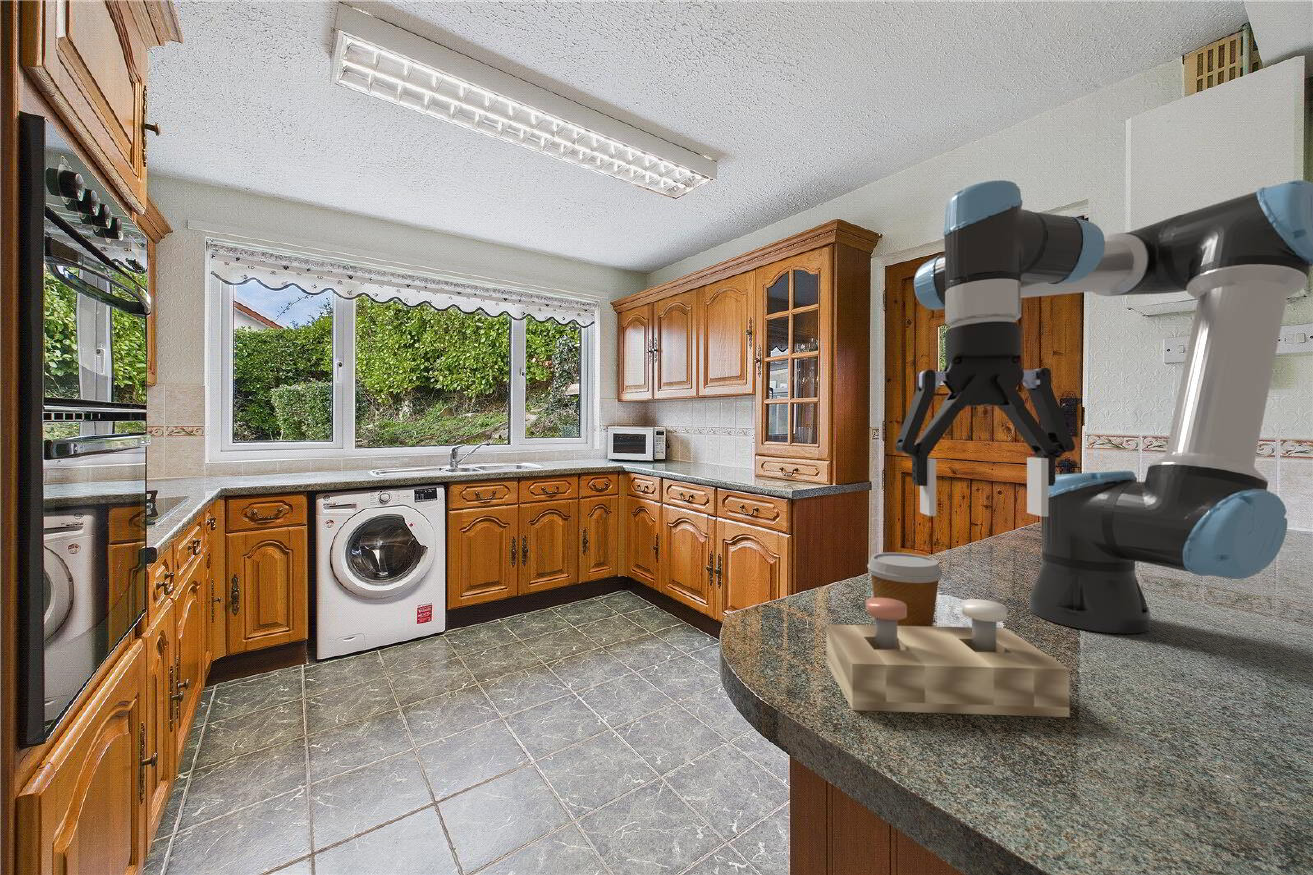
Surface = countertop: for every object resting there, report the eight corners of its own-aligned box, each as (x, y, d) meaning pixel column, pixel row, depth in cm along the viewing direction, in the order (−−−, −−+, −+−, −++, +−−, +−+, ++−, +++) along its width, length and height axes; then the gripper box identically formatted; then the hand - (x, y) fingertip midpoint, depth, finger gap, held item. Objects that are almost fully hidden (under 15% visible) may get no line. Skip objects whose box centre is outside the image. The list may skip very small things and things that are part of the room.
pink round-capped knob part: (898, 638, 66) (898, 597, 66) (912, 653, 62) (912, 609, 62) (861, 637, 67) (861, 597, 66) (872, 652, 62) (872, 609, 62)
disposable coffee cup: (952, 661, 71) (952, 569, 71) (874, 656, 73) (874, 566, 73) (931, 635, 80) (931, 553, 80) (862, 630, 82) (862, 550, 82)
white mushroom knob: (993, 640, 65) (993, 599, 65) (1015, 655, 61) (1015, 611, 61) (955, 639, 66) (955, 598, 66) (973, 654, 61) (973, 610, 61)
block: (1005, 667, 69) (1005, 627, 69) (1069, 717, 57) (1069, 669, 57) (826, 663, 71) (826, 624, 71) (852, 710, 59) (852, 663, 59)
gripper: (1069, 328, 66) (1069, 510, 66) (866, 333, 68) (866, 509, 68) (1116, 315, 58) (1116, 520, 59) (886, 321, 60) (887, 519, 61)
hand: (982, 514), depth 63 cm, fingers open, 11 cm apart
